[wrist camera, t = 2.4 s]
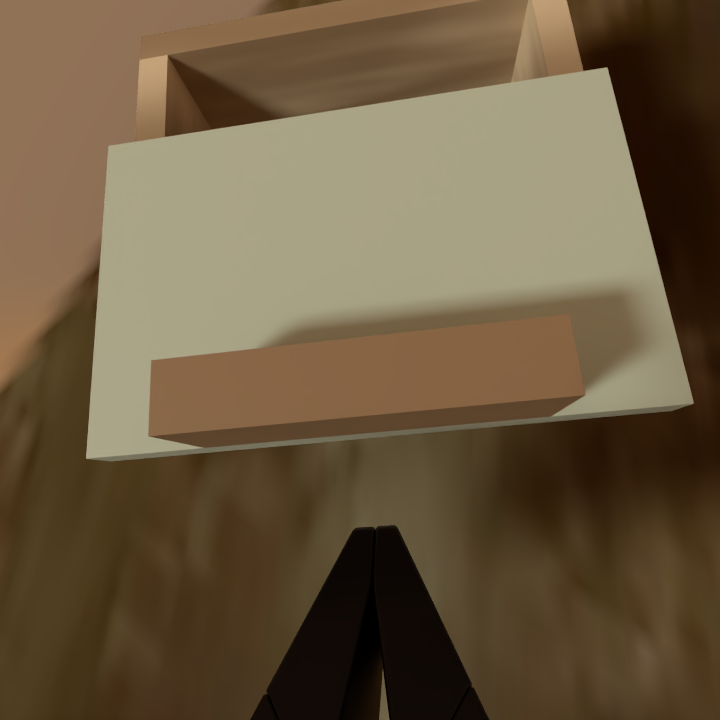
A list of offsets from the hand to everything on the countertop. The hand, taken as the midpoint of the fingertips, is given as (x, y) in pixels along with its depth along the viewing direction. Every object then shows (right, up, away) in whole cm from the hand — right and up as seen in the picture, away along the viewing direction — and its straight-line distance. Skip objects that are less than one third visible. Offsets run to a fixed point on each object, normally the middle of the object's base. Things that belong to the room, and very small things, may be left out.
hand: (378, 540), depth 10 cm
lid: (0, +6, +4) cm, 7 cm away
